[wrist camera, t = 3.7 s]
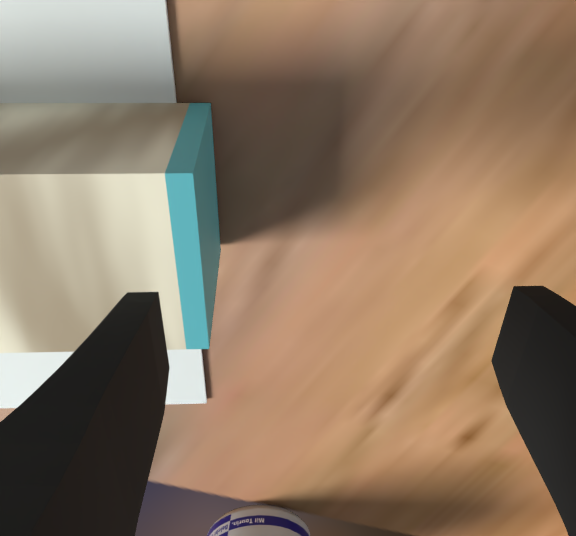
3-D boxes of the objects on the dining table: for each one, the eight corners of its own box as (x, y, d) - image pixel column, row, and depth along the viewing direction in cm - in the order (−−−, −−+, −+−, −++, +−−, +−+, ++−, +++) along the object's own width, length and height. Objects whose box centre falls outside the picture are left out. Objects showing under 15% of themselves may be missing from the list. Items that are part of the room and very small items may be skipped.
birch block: (192, 173, 12) (-296, 176, 11) (208, 348, 14) (-183, 356, 14) (210, 102, 16) (-145, 103, 15) (220, 249, 19) (-81, 253, 18)
